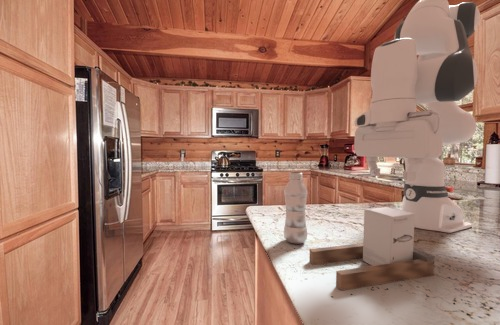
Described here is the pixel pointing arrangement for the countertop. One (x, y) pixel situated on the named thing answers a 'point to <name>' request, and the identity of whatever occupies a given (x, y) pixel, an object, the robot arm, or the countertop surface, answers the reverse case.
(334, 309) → the countertop surface
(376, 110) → the robot arm
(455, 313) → the countertop surface
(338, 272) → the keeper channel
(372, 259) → the supplement box
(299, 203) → the plastic bottle
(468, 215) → the countertop surface
